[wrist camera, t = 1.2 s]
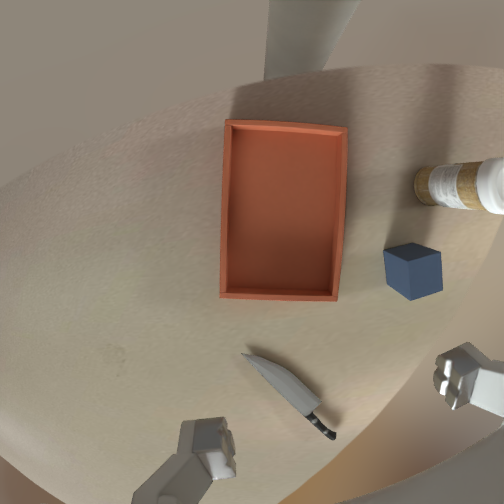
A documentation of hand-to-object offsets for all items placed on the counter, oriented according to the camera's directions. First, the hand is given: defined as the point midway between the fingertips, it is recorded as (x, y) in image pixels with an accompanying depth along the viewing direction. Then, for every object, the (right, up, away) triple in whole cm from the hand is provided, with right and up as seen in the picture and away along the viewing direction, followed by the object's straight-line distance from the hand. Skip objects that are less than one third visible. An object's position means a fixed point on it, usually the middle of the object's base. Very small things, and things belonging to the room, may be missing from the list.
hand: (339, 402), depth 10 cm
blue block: (+14, +4, +22) cm, 26 cm away
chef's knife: (+3, -12, +25) cm, 28 cm away
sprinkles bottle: (+17, +13, +21) cm, 30 cm away
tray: (0, +9, +21) cm, 23 cm away
